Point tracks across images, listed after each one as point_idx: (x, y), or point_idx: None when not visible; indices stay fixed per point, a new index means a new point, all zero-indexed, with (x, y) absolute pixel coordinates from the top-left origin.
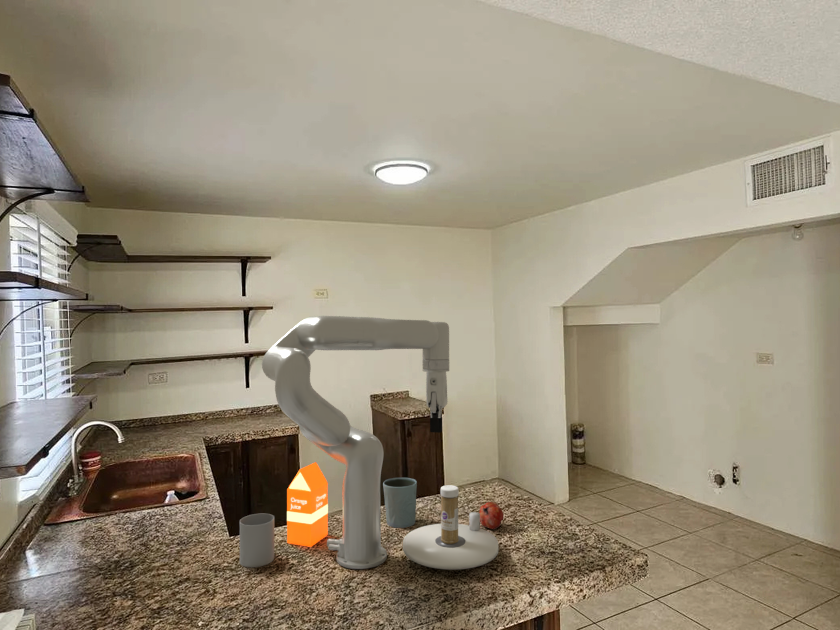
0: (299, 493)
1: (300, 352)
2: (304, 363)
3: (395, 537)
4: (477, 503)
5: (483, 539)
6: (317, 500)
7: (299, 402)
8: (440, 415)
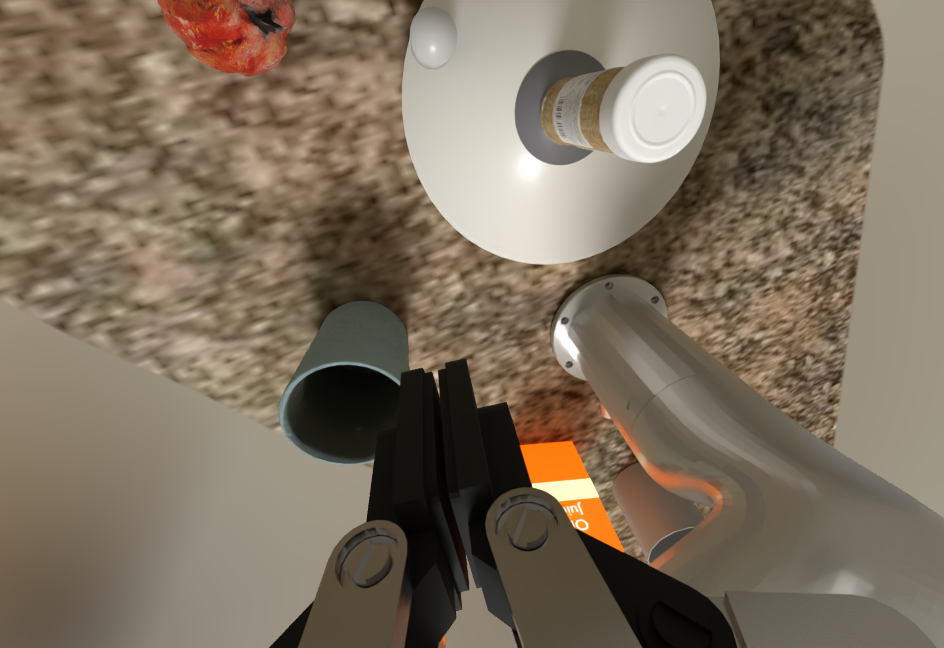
0: None
1: None
2: None
3: (469, 309)
4: (17, 151)
5: None
6: (578, 521)
7: None
8: (499, 535)
